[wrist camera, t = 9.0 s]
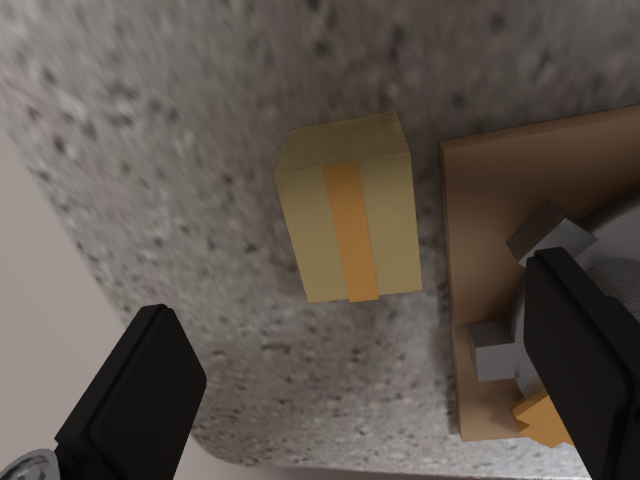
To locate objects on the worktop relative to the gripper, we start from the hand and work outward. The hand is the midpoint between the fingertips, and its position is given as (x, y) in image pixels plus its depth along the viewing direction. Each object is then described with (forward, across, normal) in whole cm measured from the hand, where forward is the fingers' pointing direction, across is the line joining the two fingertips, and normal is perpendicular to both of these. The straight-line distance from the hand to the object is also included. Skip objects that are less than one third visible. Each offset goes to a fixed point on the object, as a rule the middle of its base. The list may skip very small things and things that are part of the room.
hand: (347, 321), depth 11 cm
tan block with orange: (+7, 0, -1) cm, 8 cm away
